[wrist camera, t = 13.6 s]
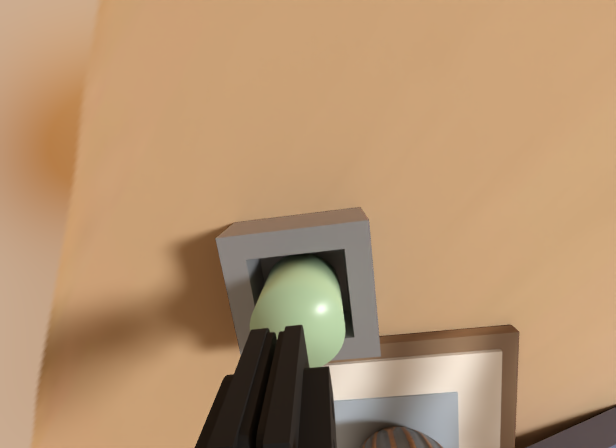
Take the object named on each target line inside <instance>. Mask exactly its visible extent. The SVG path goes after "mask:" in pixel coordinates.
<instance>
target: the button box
mask: <svg viewBox="0 0 616 448" xmlns="http://www.w3.org/2000/svg"><path fill="white" fill-rule="evenodd" d="M215 239H216V243H217V248H218V253H219V257H220V262H221V266H222V271H223V276H224V280H225V285H226V290H227V294H228V299H229V303H230V308H231V313H232V317H233V322H234V326H235V331H236V336H237V340H238V345H239V349H240V354H241V355H242V352H243V349H244V347H245V344H246V341H247V339H248V336H249V333H250V319H251V316H252V313H253V310H254V308H255V306H256V303H257V301H258V299H259V296H260V294H261V292H262V289H263V287H264V285H265V282H266V280H267V278H268V275H269V273H270V271H271V269H272V268H273V266H274V265H275V264H276V263H277V262H278V261H279V260H281V259H282V258H284V257H286V256H288V255H294V254H303V253H309V254H314V255H317V256H319V257H321V258H323V259H324V260H326V261H327V262H328V263H329V264H330V265H331V266H332V267H333V268H334V270H335V271H336V273H337V275H338V278H339V283H340V290H341V298H342V306H343V314H344V321H345V338H344V342H343V345H342V347H341V349H340V351H339V352H338V354H337V355H336V356H335V357H334V358H333V359H332V360H331V361H333V360H345V359H357V358H369V357H381V351H380V339H379V328H378V317H377V305H376V294H375V283H374V271H373V260H372V249H371V237H370V226H369V219H368V218H367V216H366V215H365V213H364V212H363V210H362V209H361V207H358V208H350V209H341V210H333V211H325V212H317V213H309V214H300V215H292V216H284V217H276V218H268V219H259V220H251V221H243V222H235V223H233V224H232V225H231V226H229V227H228V228H227V229H226V230H225V231H223V232H222V233H221V234H220V235H219V236H218V237H216V238H215Z"/></svg>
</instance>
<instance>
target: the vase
mask: <svg viewBox="0 0 616 448" xmlns="http://www.w3.org/2000/svg"><path fill="white" fill-rule="evenodd" d="M360 448H443V447H442V446H441V445H440V444H439V443H438V442H437V441H435V440H434V439H432V438H431V437H429V436H427V435H426V434H424V433H422V432H419V431H417V430H414V429H411V428H407V427H400V426H394V427H387V428H384V429H381V430H379V431H377V432H375V433H374V434H373V435H371V436H370V437H369V438H368V439H367V440H365V441H364V442H363V444H362V445H361V446H360Z"/></svg>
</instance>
